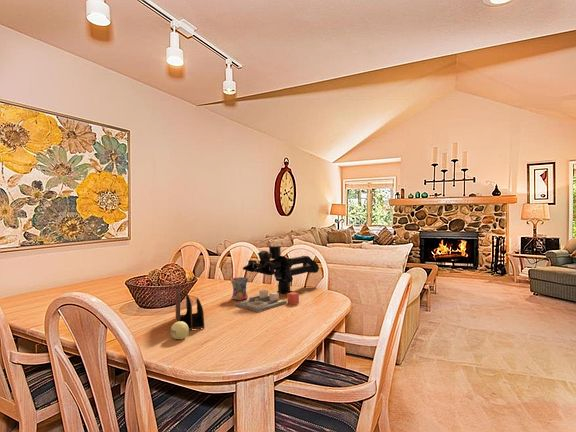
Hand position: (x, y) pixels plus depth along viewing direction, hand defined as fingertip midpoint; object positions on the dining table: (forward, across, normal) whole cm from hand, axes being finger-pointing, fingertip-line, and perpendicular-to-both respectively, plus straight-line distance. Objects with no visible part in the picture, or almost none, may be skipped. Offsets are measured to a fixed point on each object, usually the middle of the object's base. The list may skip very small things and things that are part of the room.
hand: (248, 269), depth 173 cm
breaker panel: (0, +9, +16) cm, 19 cm away
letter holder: (+38, +7, +17) cm, 42 cm away
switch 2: (-6, +12, +15) cm, 20 cm away
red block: (-12, +20, +17) cm, 28 cm away
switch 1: (-6, +4, +15) cm, 17 cm away
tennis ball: (+49, +20, +16) cm, 55 cm away
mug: (-1, -9, +17) cm, 19 cm away
